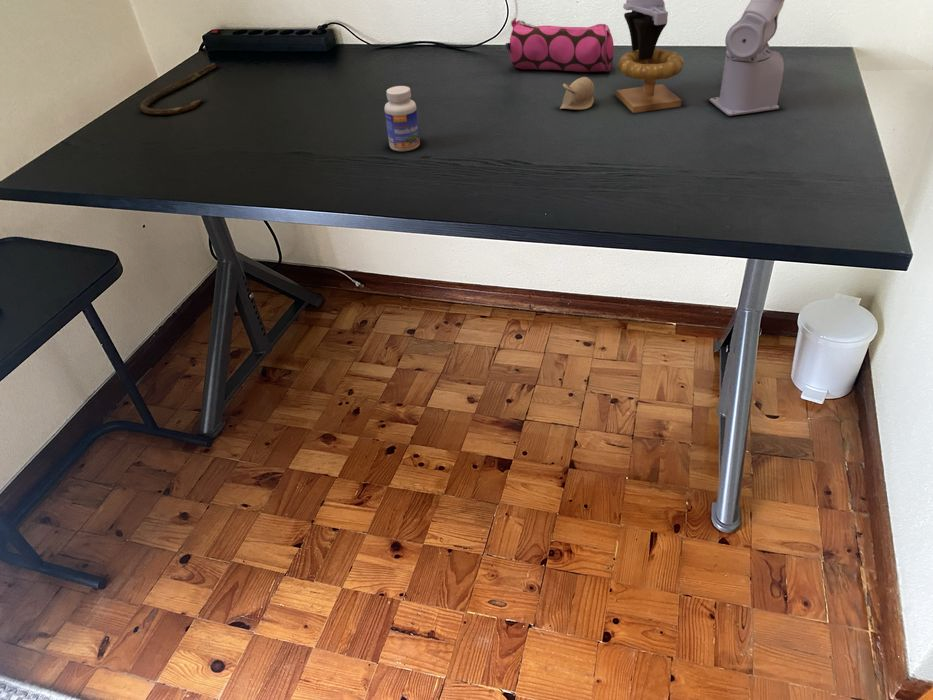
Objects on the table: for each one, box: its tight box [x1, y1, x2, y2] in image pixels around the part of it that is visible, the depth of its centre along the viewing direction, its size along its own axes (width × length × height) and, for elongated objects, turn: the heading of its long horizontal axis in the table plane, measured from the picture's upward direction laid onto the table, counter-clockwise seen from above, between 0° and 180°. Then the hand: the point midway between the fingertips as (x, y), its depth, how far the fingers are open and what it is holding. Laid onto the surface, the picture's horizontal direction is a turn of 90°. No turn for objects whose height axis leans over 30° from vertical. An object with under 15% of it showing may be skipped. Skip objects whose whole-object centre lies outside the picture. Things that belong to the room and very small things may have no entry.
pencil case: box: [505, 17, 615, 73], centre depth 149 cm, size 21×10×10 cm, turn 73°
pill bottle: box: [383, 85, 421, 152], centre depth 124 cm, size 5×5×10 cm
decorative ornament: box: [559, 76, 595, 111], centre depth 134 cm, size 4×8×5 cm, turn 129°
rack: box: [615, 80, 682, 114], centre depth 133 cm, size 9×9×6 cm
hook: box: [139, 62, 217, 116], centre depth 158 cm, size 12×30×2 cm, turn 8°
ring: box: [617, 48, 685, 81], centre depth 131 cm, size 11×11×3 cm
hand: (642, 56), depth 134 cm, fingers closed on ring, 3 cm apart
